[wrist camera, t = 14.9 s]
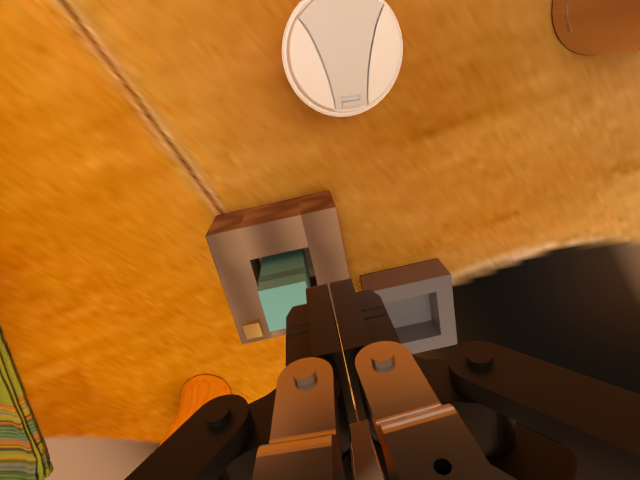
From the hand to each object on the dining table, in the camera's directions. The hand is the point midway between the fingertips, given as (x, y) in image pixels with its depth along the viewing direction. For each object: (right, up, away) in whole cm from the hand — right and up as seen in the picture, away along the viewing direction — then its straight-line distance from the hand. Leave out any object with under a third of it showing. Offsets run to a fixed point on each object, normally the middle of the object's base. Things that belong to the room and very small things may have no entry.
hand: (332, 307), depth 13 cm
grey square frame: (+9, -5, +34) cm, 36 cm away
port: (-4, +1, +31) cm, 31 cm away
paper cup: (0, +19, +24) cm, 31 cm away
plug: (-4, 0, +30) cm, 30 cm away
